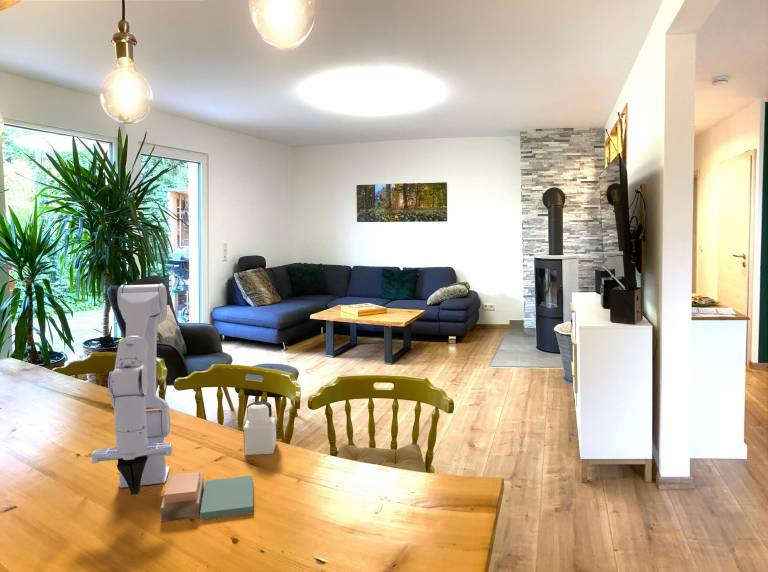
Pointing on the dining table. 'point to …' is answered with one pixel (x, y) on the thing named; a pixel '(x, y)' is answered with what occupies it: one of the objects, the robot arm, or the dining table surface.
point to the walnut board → (183, 507)
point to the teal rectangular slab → (227, 497)
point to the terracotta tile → (182, 487)
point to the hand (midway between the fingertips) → (135, 492)
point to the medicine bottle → (259, 429)
